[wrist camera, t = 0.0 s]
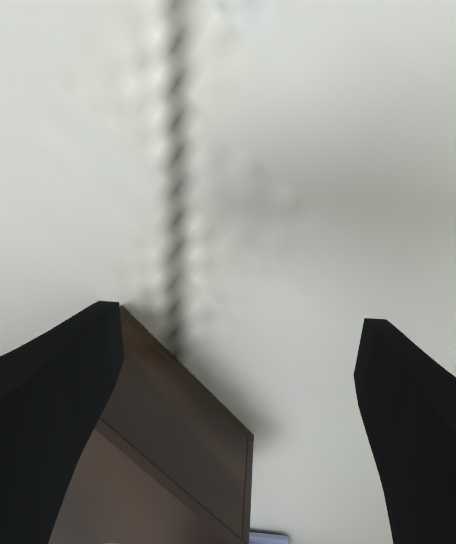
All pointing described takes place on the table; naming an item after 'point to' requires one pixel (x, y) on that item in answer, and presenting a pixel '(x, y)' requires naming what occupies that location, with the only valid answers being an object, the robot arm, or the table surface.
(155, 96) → the table surface
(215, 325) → the table surface
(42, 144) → the table surface
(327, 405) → the table surface
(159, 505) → the cabinet
